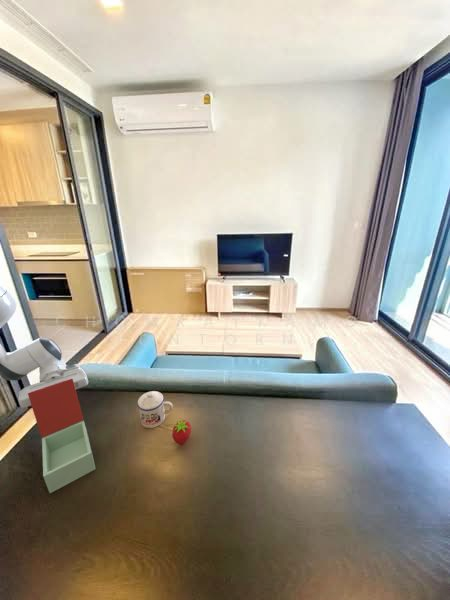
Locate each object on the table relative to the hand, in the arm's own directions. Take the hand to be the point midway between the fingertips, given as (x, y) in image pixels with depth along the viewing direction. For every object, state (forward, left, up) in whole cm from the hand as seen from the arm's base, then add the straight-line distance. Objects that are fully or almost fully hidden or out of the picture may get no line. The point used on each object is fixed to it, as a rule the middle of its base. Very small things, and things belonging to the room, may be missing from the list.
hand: (56, 400), depth 82 cm
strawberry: (+31, -28, -14) cm, 44 cm away
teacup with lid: (+28, -13, -14) cm, 34 cm away
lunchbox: (0, -13, -14) cm, 19 cm away
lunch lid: (0, -5, +1) cm, 5 cm away
